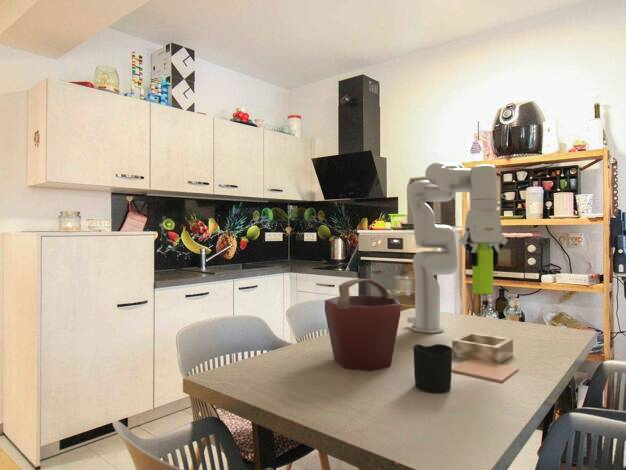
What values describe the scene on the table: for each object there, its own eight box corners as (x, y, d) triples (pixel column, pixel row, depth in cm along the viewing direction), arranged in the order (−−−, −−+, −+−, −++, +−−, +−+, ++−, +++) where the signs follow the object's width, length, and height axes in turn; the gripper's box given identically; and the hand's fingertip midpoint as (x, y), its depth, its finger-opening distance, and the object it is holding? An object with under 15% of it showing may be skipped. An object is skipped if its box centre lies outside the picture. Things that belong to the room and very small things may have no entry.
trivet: (450, 371, 121) (450, 369, 121) (469, 360, 131) (469, 358, 131) (502, 382, 112) (502, 380, 112) (518, 369, 122) (518, 367, 122)
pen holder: (423, 378, 115) (423, 341, 115) (458, 386, 109) (458, 346, 109) (406, 388, 108) (406, 348, 108) (443, 397, 102) (443, 355, 102)
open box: (452, 356, 136) (452, 340, 136) (469, 347, 147) (469, 332, 146) (498, 364, 127) (498, 347, 127) (512, 354, 137) (512, 339, 137)
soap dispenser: (482, 295, 127) (482, 227, 127) (468, 292, 133) (468, 227, 133) (499, 294, 128) (499, 227, 128) (485, 291, 135) (485, 227, 135)
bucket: (352, 379, 114) (352, 285, 114) (307, 359, 132) (307, 278, 132) (417, 364, 128) (417, 280, 127) (368, 348, 146) (368, 274, 146)
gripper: (501, 207, 136) (502, 264, 136) (450, 206, 133) (451, 265, 133) (516, 205, 129) (517, 266, 128) (463, 205, 126) (463, 266, 126)
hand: (483, 265), depth 131 cm, fingers closed on soap dispenser, 5 cm apart
